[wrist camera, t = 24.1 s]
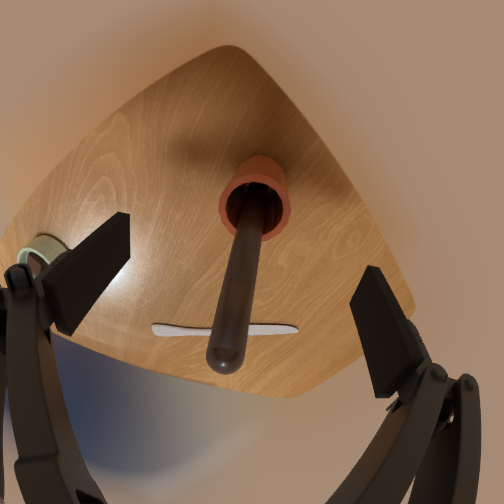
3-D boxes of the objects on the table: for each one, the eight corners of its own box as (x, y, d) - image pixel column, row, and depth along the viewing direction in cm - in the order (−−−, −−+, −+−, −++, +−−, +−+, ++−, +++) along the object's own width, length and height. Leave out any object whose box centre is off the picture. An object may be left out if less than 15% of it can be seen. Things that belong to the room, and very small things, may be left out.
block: (39, 243, 36) (27, 253, 33) (52, 254, 37) (40, 265, 34) (37, 257, 37) (26, 267, 34) (50, 268, 38) (39, 279, 35)
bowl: (28, 228, 35) (10, 241, 31) (75, 241, 36) (57, 257, 31) (40, 283, 41) (26, 298, 37) (86, 301, 42) (72, 318, 37)
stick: (260, 158, 28) (214, 361, 12) (275, 169, 28) (249, 375, 13) (249, 171, 29) (196, 370, 13) (263, 181, 30) (228, 382, 14)
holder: (240, 150, 28) (225, 168, 20) (290, 161, 29) (298, 184, 20) (231, 197, 31) (213, 234, 22) (278, 207, 31) (280, 248, 23)
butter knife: (148, 323, 42) (154, 336, 43) (298, 324, 39) (298, 337, 40) (149, 322, 42) (154, 334, 43) (298, 322, 39) (298, 335, 41)
